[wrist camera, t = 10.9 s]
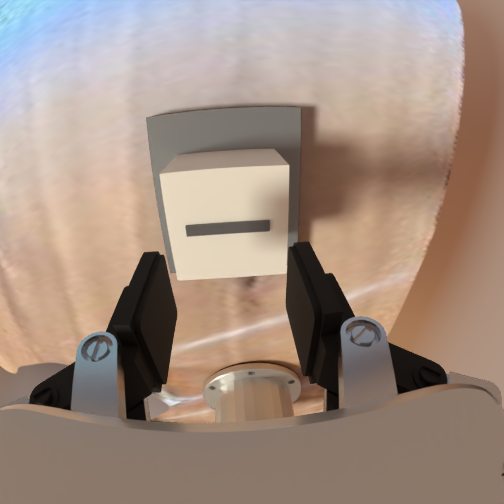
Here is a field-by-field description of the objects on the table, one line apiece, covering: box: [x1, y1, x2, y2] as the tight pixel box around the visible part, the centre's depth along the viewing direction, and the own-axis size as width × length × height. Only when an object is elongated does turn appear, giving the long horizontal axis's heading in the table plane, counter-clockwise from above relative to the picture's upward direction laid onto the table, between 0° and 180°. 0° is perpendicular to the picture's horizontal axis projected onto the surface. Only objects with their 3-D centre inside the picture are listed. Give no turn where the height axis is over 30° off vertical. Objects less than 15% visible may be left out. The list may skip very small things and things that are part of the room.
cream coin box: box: [159, 149, 289, 280], centre depth 17 cm, size 6×6×5 cm
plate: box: [146, 107, 301, 273], centre depth 20 cm, size 12×10×2 cm
